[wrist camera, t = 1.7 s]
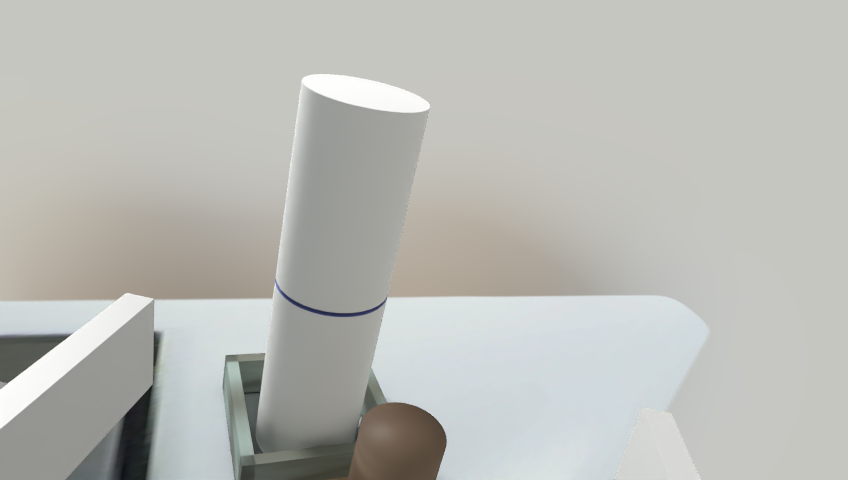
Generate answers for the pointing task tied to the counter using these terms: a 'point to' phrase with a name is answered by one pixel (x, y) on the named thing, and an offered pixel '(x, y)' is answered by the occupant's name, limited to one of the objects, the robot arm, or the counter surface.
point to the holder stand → (342, 463)
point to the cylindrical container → (336, 256)
